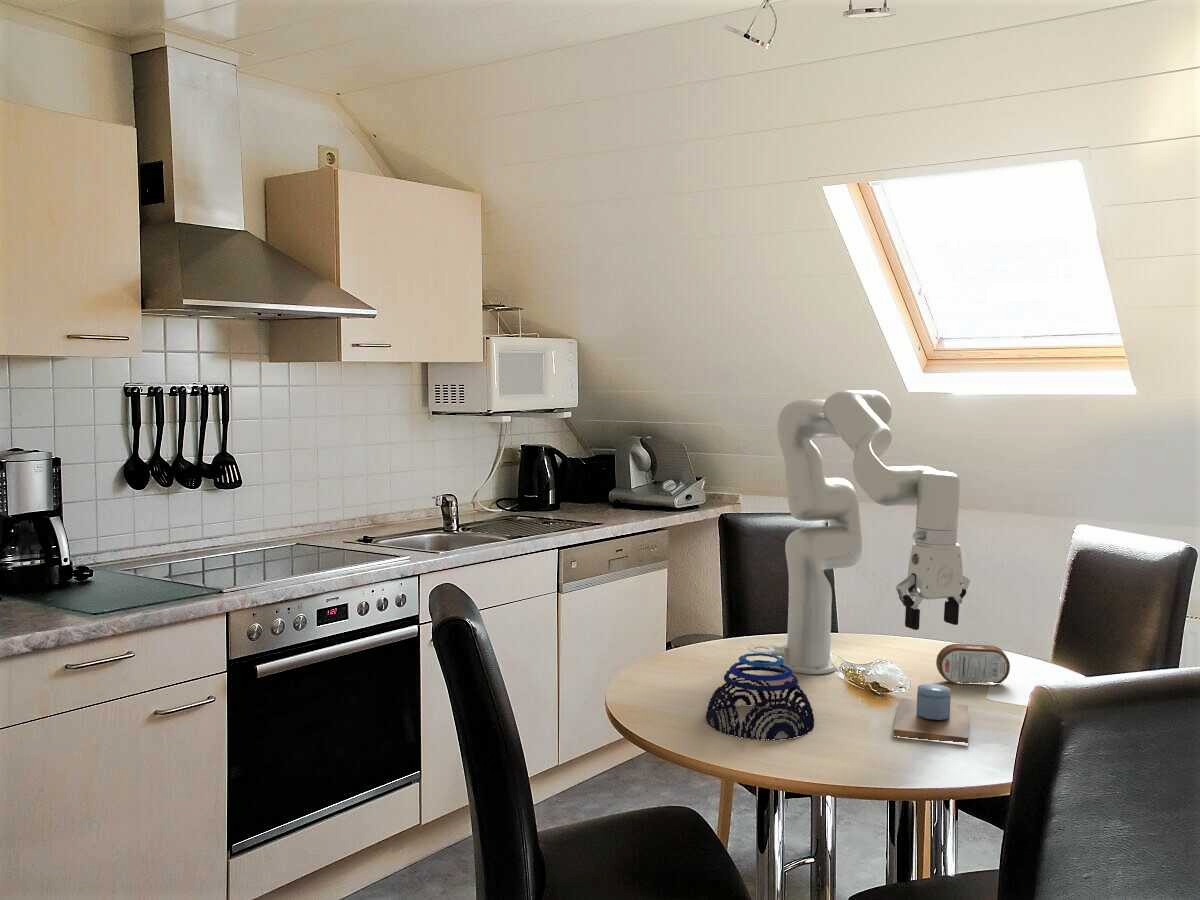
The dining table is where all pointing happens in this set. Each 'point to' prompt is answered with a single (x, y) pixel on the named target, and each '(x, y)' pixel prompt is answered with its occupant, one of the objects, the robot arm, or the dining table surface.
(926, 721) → the post base
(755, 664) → the decorative bowl
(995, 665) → the tin
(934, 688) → the cap
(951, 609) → the robot arm
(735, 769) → the dining table surface
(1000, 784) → the dining table surface
